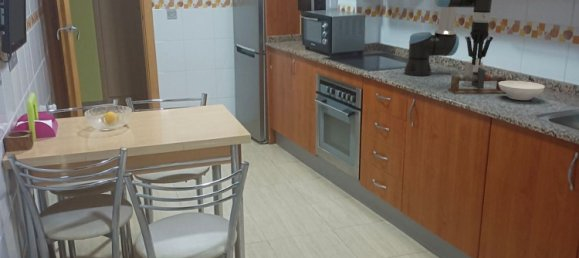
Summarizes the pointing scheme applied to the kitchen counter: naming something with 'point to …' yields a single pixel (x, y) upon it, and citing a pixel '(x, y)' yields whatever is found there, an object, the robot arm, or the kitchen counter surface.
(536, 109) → the kitchen counter surface
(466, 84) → the light grey cylinder
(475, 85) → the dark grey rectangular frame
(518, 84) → the bowl
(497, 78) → the pipe stand
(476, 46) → the robot arm
